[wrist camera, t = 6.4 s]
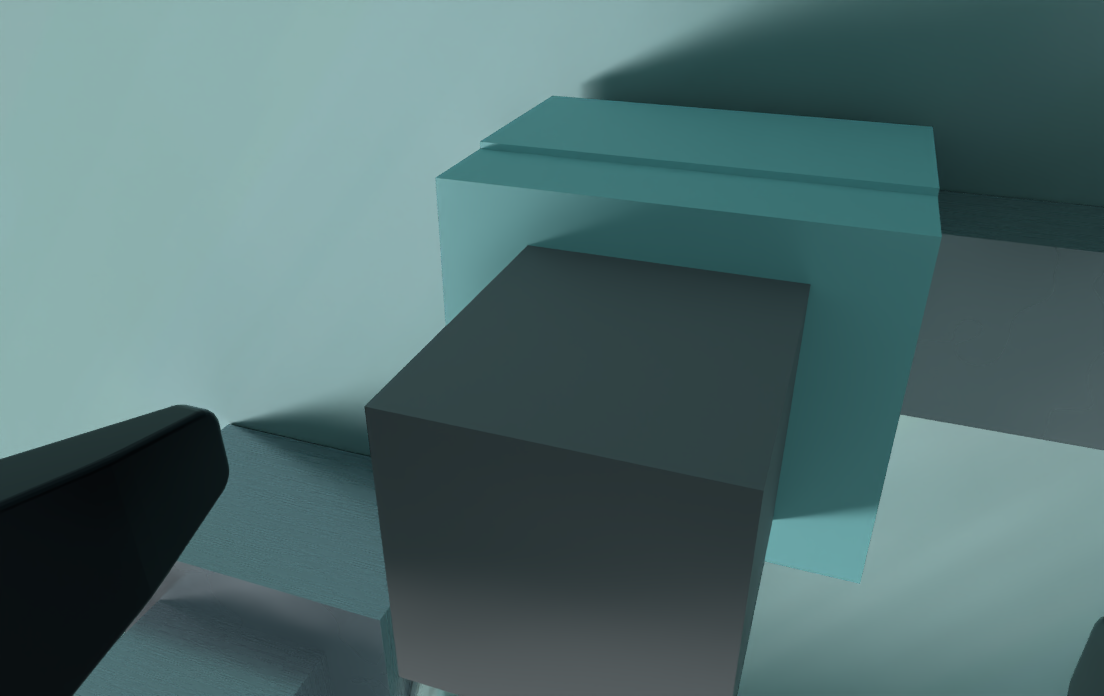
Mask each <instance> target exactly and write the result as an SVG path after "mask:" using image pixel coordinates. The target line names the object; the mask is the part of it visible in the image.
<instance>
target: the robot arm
mask: <svg viewBox="0 0 1104 696" xmlns="http://www.w3.org/2000/svg"><path fill="white" fill-rule="evenodd" d="M228 478H229V464H228V459H227V455H226V451H225V446H224V442H223V438H222V433H221V429H220V425H219V421H218V419H217V417H216V416H215V415H214V413H212V412H211V411H209V410H206V409H202V408H198V407H193V406H189V405H175V406H171V407H168V408H165V409H162V410H158V411H155V412H152V413H149V414H145V415H142V416H139V417H136V418H132V419H129V420H126V421H123V422H119V423H116V424H113V425H110V426H106V427H103V428H100V429H97V430H93V431H90V432H87V433H84V434H80V435H77V436H74V437H71V438H68V439H64V440H61V441H58V442H55V443H51V444H48V445H45V446H42V447H38V448H35V449H32V450H29V451H25V452H22V453H19V454H16V455H12V456H9V457H6V458H3V459H0V696H73V695H74V694H75V692H76V691H77V690H78V689H79V687H80V686H81V685H82V684H83V683H84V681H85V680H86V679H87V678H88V676H89V675H90V674H91V673H92V671H93V670H94V669H95V668H96V666H97V665H98V664H99V663H100V662H101V660H102V659H103V658H104V657H105V655H106V654H107V653H108V652H109V650H110V649H111V648H112V647H113V645H114V644H115V643H116V642H117V641H118V639H119V638H120V637H121V636H122V634H123V633H124V632H125V631H126V629H127V628H128V627H129V626H130V624H131V623H132V622H133V621H134V620H135V618H136V617H137V616H138V615H139V613H140V612H141V611H142V609H143V608H144V607H145V606H146V604H147V603H148V602H149V600H150V599H151V598H152V596H153V595H154V594H155V592H156V591H157V589H158V588H159V586H160V585H161V584H162V582H163V581H164V579H165V578H166V576H167V575H168V573H169V572H170V570H171V569H172V567H173V566H174V564H175V563H176V561H177V560H178V558H179V557H180V555H181V554H182V552H183V551H184V549H185V548H186V546H187V545H188V543H189V542H190V540H191V539H192V537H193V536H194V534H195V533H196V531H197V530H198V528H199V527H200V525H201V524H202V522H203V521H204V519H205V518H206V516H207V515H208V513H209V512H210V510H211V509H212V507H213V506H214V504H215V503H216V501H217V500H218V498H219V497H220V495H221V494H222V492H223V491H224V489H225V487H226V485H227V482H228ZM1067 696H1104V617H1101V618H1100V619H1099V620H1098V621H1097V622H1096V623H1095V625H1094V627H1093V629H1092V631H1091V633H1090V636H1089V638H1088V640H1087V643H1086V645H1085V647H1084V650H1083V652H1082V654H1081V657H1080V659H1079V661H1078V664H1077V666H1076V668H1075V671H1074V673H1073V675H1072V678H1071V681H1070V684H1069V688H1068V695H1067Z"/></svg>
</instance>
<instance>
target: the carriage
mask: <svg viewBox="0 0 1104 696" xmlns="http://www.w3.org/2000/svg"><path fill="white" fill-rule="evenodd" d="M436 192H437V206H438V221H439V235H440V250H441V264H442V279H443V293H444V308H445V322H446V326H445V327H444V328H443V329H442V330H441V331H440V332H439V333H438V334H437V335H436V336H435V337H434V338H433V339H432V340H431V341H430V342H429V343H428V344H427V345H426V346H425V347H424V348H423V349H422V350H421V351H420V352H419V353H418V354H417V355H416V356H415V357H414V358H413V359H412V360H411V361H410V362H409V363H408V364H407V365H406V366H405V367H404V368H403V369H402V370H401V371H400V372H399V373H398V374H397V375H396V376H395V377H394V378H393V379H392V380H391V381H390V382H389V383H388V384H387V385H386V386H385V387H384V388H383V389H382V390H381V391H380V392H379V393H378V394H377V395H376V396H375V397H374V398H373V399H372V400H371V401H370V402H369V403H367V404H366V405H365V406H364V407H365V415H366V422H367V430H368V438H369V446H370V454H371V461H372V469H373V477H374V485H375V493H376V500H377V508H378V516H379V524H380V532H381V539H382V547H383V555H384V563H385V571H386V578H387V586H388V594H389V602H390V610H391V617H392V625H393V633H394V641H395V649H396V656H397V664H398V672H399V677H402V678H405V679H408V680H411V681H414V682H418V683H421V684H424V685H427V686H430V687H433V688H437V689H440V690H443V691H446V692H449V693H453V694H456V695H459V696H737V693H738V688H739V683H740V678H741V674H742V669H743V664H744V659H745V654H746V649H747V644H748V639H749V634H750V629H751V624H752V620H753V615H754V610H755V605H756V600H757V595H758V590H759V585H760V580H761V575H762V570H763V566H764V561H766V562H770V563H774V564H778V565H783V566H787V567H791V568H795V569H800V570H804V571H808V572H812V573H817V574H821V575H825V576H829V577H834V578H838V579H842V580H846V581H851V582H855V583H859V584H860V581H861V577H862V573H863V569H864V564H865V560H866V556H867V552H868V548H869V543H870V539H871V535H872V531H873V526H874V522H875V518H876V514H877V509H878V505H879V501H880V497H881V493H882V488H883V484H884V480H885V476H886V471H887V467H888V463H889V459H890V454H891V450H892V446H893V442H894V437H895V433H896V429H897V425H898V421H899V416H900V412H901V408H902V404H903V399H904V395H905V391H906V387H907V382H908V378H909V374H910V370H911V366H912V361H913V357H914V353H915V349H916V344H917V340H918V336H919V332H920V327H921V323H922V319H923V315H924V310H925V306H926V302H927V298H928V294H929V289H930V285H931V281H932V277H933V272H934V268H935V264H936V260H937V255H938V251H939V247H940V243H941V239H942V233H941V224H940V214H939V204H938V192H939V179H938V170H937V161H936V152H935V143H934V134H933V127H929V126H917V125H905V124H893V123H880V122H868V121H856V120H843V119H831V118H819V117H807V116H794V115H782V114H770V113H757V112H745V111H733V110H721V109H708V108H696V107H684V106H671V105H659V104H647V103H635V102H622V101H610V100H598V99H585V98H573V97H561V96H551V97H550V98H548V99H547V100H545V101H544V102H542V103H540V104H539V105H537V106H536V107H534V108H532V109H531V110H529V111H528V112H526V113H525V114H523V115H521V116H520V117H518V118H517V119H515V120H513V121H512V122H510V123H509V124H507V125H506V126H504V127H502V128H501V129H499V130H498V131H496V132H495V133H493V134H491V135H490V136H488V137H487V138H485V139H483V140H482V141H480V149H479V150H478V151H476V152H474V153H473V154H471V155H470V156H468V157H467V158H465V159H464V160H462V161H461V162H459V163H458V164H456V165H454V166H453V167H451V168H450V169H448V170H447V171H445V172H444V173H442V174H441V175H439V176H438V177H436Z"/></svg>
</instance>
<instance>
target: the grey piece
mask: <svg viewBox="0 0 1104 696" xmlns="http://www.w3.org/2000/svg"><path fill="white" fill-rule="evenodd" d="M221 433H222V438H223V442H224V446H225V451H226V455H227V459H228V464H229V478H228V482H227V485H226V487H225V489H224V491H223V492H222V494H221V495H220V497H219V498H218V500H217V501H216V503H215V504H214V506H213V507H212V509H211V510H210V512H209V513H208V515H207V516H206V518H205V519H204V521H203V522H202V524H201V525H200V527H199V528H198V530H197V531H196V533H195V534H194V536H193V537H192V539H191V540H190V542H189V543H188V545H187V546H186V548H185V549H184V551H183V552H182V554H181V555H180V557H179V558H178V560H177V561H176V563H175V564H174V566H173V567H172V569H171V570H170V572H169V573H168V575H167V576H166V578H165V579H164V581H163V582H162V584H161V585H160V586H159V588H158V589H157V591H156V592H155V594H154V595H153V596H152V598H151V599H150V600H149V602H148V603H147V604H146V606H145V607H144V608H143V609H142V611H141V612H140V613H139V615H138V616H137V617H136V618H135V620H134V621H133V622H132V623H131V624H130V626H129V627H128V628H127V629H126V631H125V634H124V635H123V636H122V637H121V638H120V639H119V640H118V641H117V642H116V643H115V644H114V645H113V647H112V648H111V649H110V650H109V652H108V653H107V654H106V655H105V657H104V658H103V659H102V660H101V662H100V663H99V664H98V665H97V666H96V668H95V669H94V670H93V671H92V673H91V674H90V675H89V676H88V678H87V679H86V680H85V681H84V683H83V684H82V685H81V686H80V687H79V689H78V690H77V691H76V692H75V694H74V695H73V696H459V695H456V694H453V693H449V692H446V691H443V690H440V689H437V688H433V687H430V686H427V685H424V684H421V683H418V682H414V681H411V680H408V679H405V678H402V677H399V672H398V664H397V656H396V649H395V641H394V633H393V625H392V617H391V610H390V602H389V594H388V586H387V578H386V571H385V563H384V555H383V547H382V539H381V532H380V524H379V516H378V508H377V500H376V493H375V485H374V477H373V469H372V461H371V457H368V456H364V455H360V454H355V453H351V452H347V451H342V450H338V449H334V448H329V447H325V446H321V445H316V444H312V443H308V442H303V441H299V440H295V439H290V438H286V437H282V436H277V435H273V434H269V433H264V432H260V431H256V430H251V429H247V428H243V427H238V426H234V425H230V424H228V425H227V426H226V427H225V428H224V429H222V430H221Z"/></svg>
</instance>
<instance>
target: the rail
mask: <svg viewBox="0 0 1104 696" xmlns="http://www.w3.org/2000/svg"><path fill="white" fill-rule="evenodd" d="M938 204H939V214H940V224H941V233H942V239H941V243H940V247H939V251H938V255H937V260H936V264H935V268H934V272H933V277H932V281H931V285H930V289H929V294H928V298H927V302H926V306H925V310H924V315H923V319H922V323H921V327H920V332H919V336H918V340H917V344H916V349H915V353H914V357H913V361H912V366H911V370H910V374H909V378H908V382H907V387H906V391H905V395H904V399H903V404H902V408H901V412H900V414H901V415H907V416H913V417H918V418H924V419H930V420H935V421H941V422H947V423H952V424H958V425H964V426H969V427H975V428H981V429H986V430H992V431H998V432H1003V433H1009V434H1015V435H1020V436H1026V437H1032V438H1037V439H1043V440H1049V441H1054V442H1060V443H1066V444H1071V445H1077V446H1083V447H1088V448H1094V449H1100V450H1104V207H1098V206H1088V205H1079V204H1069V203H1059V202H1049V201H1039V200H1029V199H1020V198H1010V197H1000V196H990V195H980V194H971V193H961V192H951V191H941V190H939V192H938Z"/></svg>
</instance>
